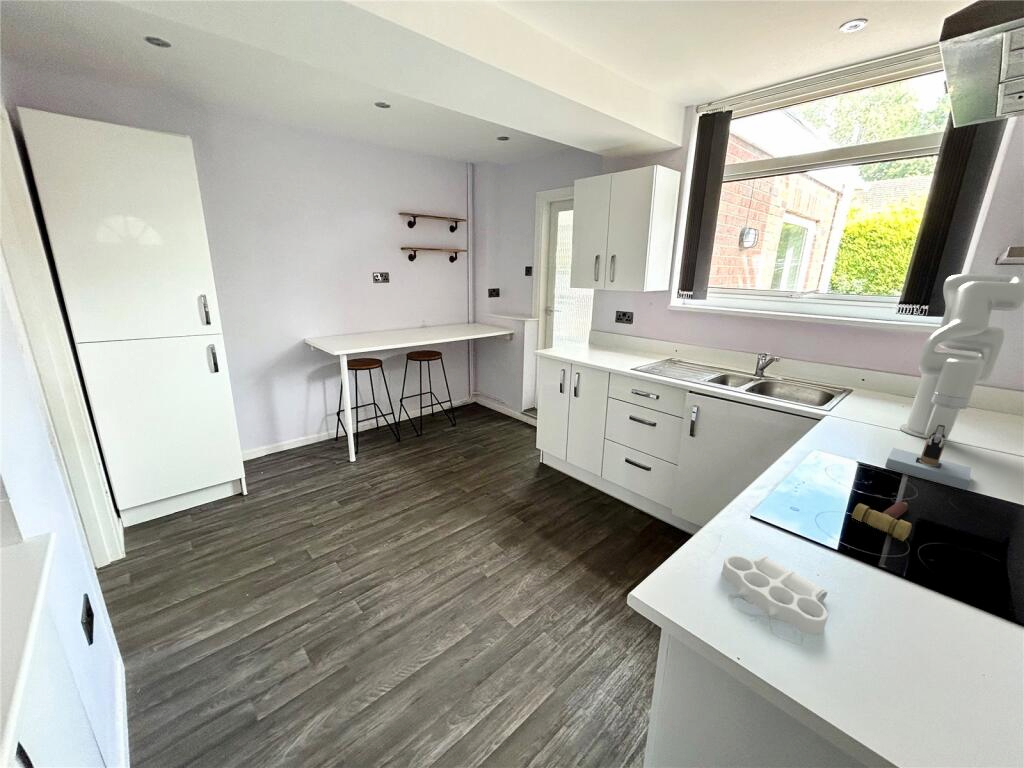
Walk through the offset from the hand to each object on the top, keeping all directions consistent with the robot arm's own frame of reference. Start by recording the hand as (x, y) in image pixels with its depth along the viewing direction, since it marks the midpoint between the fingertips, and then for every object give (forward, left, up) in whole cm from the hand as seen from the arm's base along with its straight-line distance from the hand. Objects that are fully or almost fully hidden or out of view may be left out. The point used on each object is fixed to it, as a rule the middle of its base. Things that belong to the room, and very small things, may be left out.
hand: (931, 453), depth 129 cm
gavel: (+42, -4, -7) cm, 42 cm away
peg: (0, 0, -6) cm, 6 cm away
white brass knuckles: (+93, -15, -7) cm, 95 cm away
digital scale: (0, 0, -6) cm, 6 cm away
